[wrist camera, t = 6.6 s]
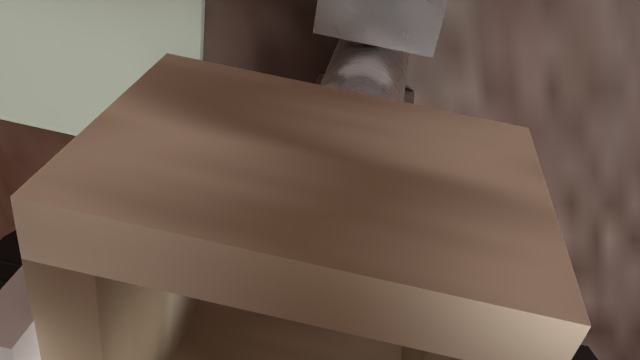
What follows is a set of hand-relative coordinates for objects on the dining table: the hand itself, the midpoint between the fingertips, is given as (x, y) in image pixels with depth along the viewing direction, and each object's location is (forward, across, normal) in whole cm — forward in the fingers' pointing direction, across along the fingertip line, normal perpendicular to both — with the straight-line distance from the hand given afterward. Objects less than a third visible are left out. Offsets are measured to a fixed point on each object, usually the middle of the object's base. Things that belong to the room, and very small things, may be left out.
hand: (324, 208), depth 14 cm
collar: (-1, 0, 0) cm, 1 cm away
